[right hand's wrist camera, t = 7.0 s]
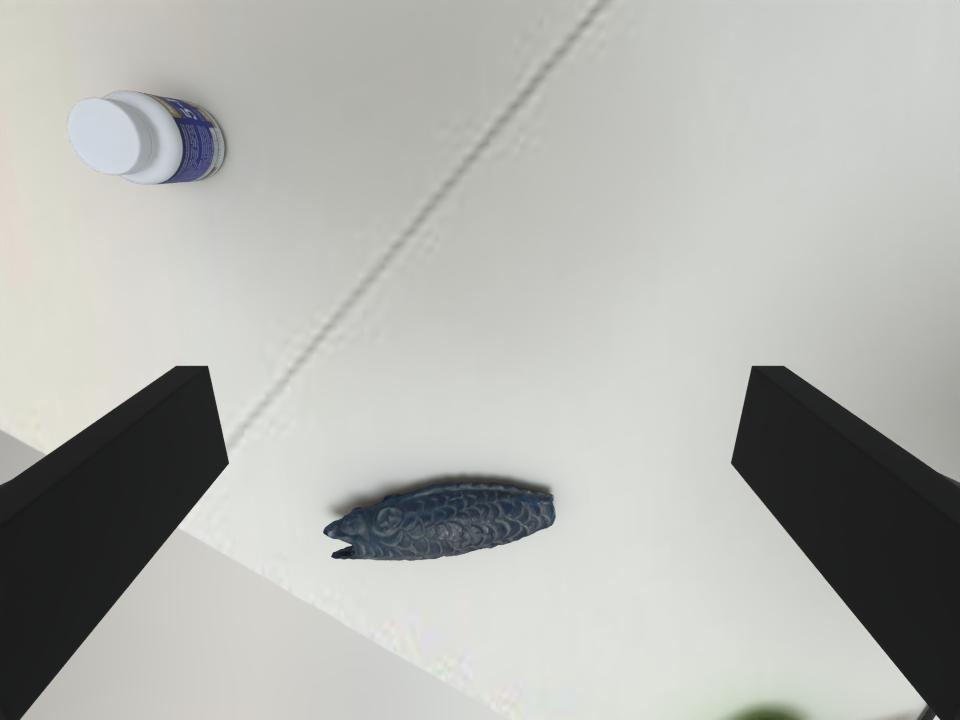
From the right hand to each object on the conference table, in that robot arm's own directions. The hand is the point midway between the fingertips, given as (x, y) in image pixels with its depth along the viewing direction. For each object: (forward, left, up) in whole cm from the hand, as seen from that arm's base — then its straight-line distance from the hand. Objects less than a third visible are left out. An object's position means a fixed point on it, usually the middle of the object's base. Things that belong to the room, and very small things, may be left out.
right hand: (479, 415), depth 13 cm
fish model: (+25, -5, -29) cm, 38 cm away
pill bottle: (-8, -20, -29) cm, 36 cm away
